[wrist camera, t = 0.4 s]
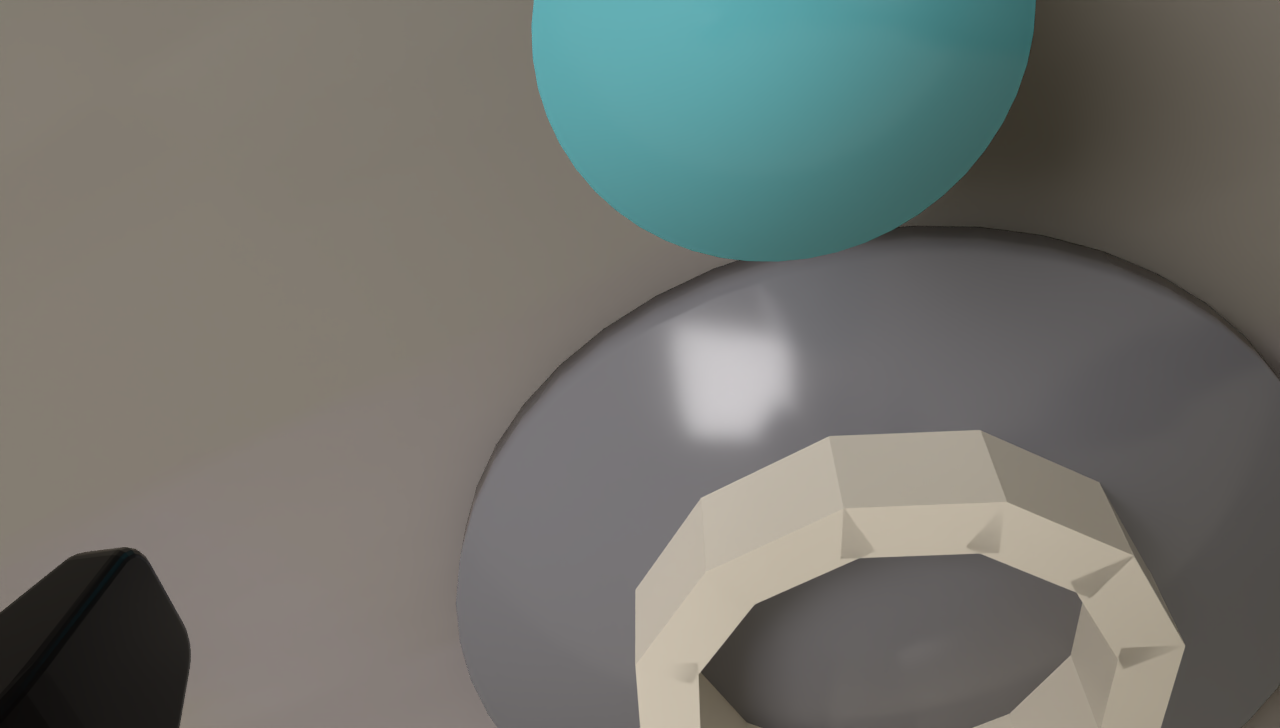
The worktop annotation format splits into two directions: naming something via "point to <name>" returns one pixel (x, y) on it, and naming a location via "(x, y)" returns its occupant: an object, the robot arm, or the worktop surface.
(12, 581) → the worktop surface
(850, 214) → the teal rounded cylinder
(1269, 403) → the round tray
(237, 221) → the worktop surface
